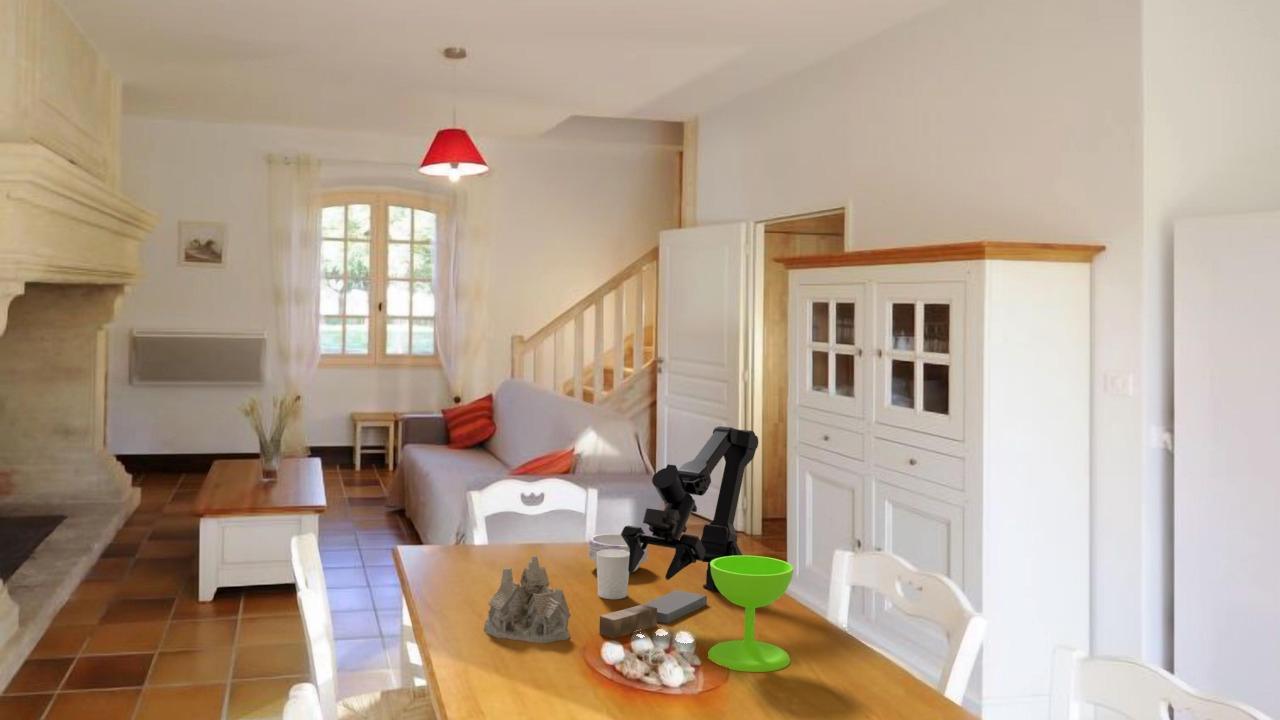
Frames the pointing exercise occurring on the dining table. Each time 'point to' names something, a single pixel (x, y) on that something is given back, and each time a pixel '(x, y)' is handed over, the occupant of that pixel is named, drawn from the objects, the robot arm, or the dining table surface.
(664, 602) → the slate board
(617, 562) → the white cup
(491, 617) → the ceramic cottage
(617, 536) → the paper bowls
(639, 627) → the walnut block
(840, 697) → the dining table surface
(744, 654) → the wineglass
